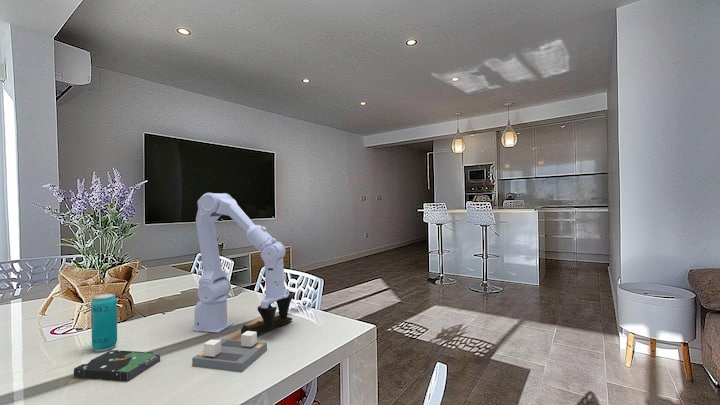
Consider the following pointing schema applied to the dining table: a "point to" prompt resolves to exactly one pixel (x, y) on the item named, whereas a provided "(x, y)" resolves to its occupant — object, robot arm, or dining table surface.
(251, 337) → the switch tab
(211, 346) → the white cube
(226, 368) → the grey flat block
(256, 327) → the dark brown log
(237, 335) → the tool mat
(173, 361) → the dining table surface
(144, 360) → the disk drive
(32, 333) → the dining table surface
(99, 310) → the beverage can
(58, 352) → the dining table surface
